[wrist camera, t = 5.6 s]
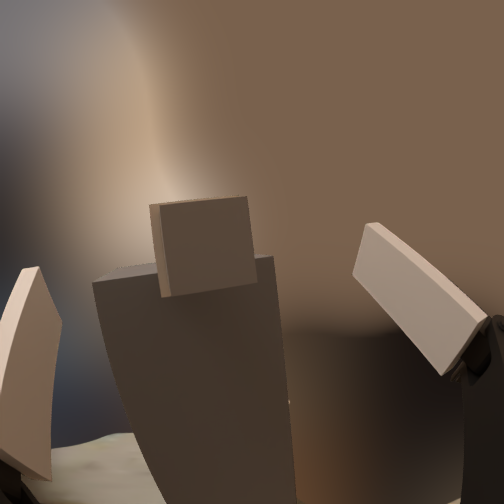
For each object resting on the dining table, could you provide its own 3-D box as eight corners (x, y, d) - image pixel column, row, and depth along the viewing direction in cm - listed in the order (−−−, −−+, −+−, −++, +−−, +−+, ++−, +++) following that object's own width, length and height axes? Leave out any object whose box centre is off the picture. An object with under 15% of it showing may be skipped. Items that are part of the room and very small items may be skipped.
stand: (191, 561, 17) (73, 286, 15) (174, 488, 30) (109, 268, 28) (309, 530, 21) (293, 254, 19) (267, 467, 35) (237, 250, 33)
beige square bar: (162, 309, 7) (147, 195, 7) (159, 259, 34) (156, 234, 34) (269, 290, 8) (255, 184, 8) (184, 256, 35) (181, 231, 35)
